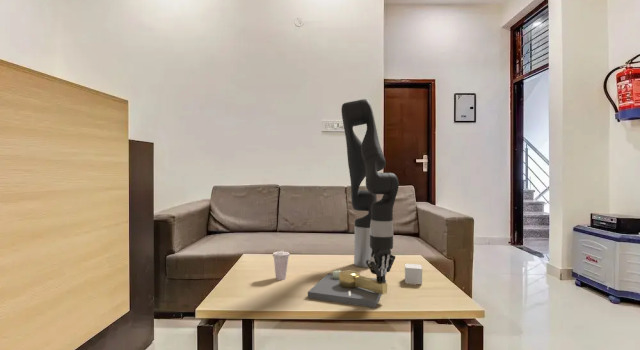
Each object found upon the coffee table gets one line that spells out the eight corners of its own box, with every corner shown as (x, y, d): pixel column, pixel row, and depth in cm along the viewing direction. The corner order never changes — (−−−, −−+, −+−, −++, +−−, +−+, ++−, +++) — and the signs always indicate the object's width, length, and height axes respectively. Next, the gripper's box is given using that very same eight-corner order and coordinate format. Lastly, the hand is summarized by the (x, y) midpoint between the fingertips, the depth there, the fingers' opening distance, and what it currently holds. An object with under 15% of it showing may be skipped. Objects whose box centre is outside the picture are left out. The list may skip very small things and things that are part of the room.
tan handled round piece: (334, 284, 115) (335, 272, 115) (348, 280, 120) (348, 269, 120) (378, 299, 102) (378, 285, 102) (391, 293, 107) (391, 281, 107)
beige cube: (422, 285, 123) (422, 268, 122) (405, 283, 124) (405, 267, 124) (420, 280, 128) (421, 264, 128) (404, 278, 130) (404, 263, 130)
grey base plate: (328, 278, 129) (328, 266, 129) (386, 285, 122) (386, 272, 122) (307, 297, 108) (308, 283, 108) (375, 307, 101) (375, 292, 101)
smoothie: (286, 281, 124) (286, 244, 124) (269, 280, 125) (270, 243, 125) (291, 276, 130) (291, 240, 130) (275, 275, 132) (276, 239, 132)
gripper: (384, 229, 116) (383, 279, 117) (359, 234, 108) (358, 287, 108) (402, 233, 111) (402, 284, 111) (377, 238, 102) (377, 294, 102)
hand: (380, 286), depth 109 cm, fingers closed
